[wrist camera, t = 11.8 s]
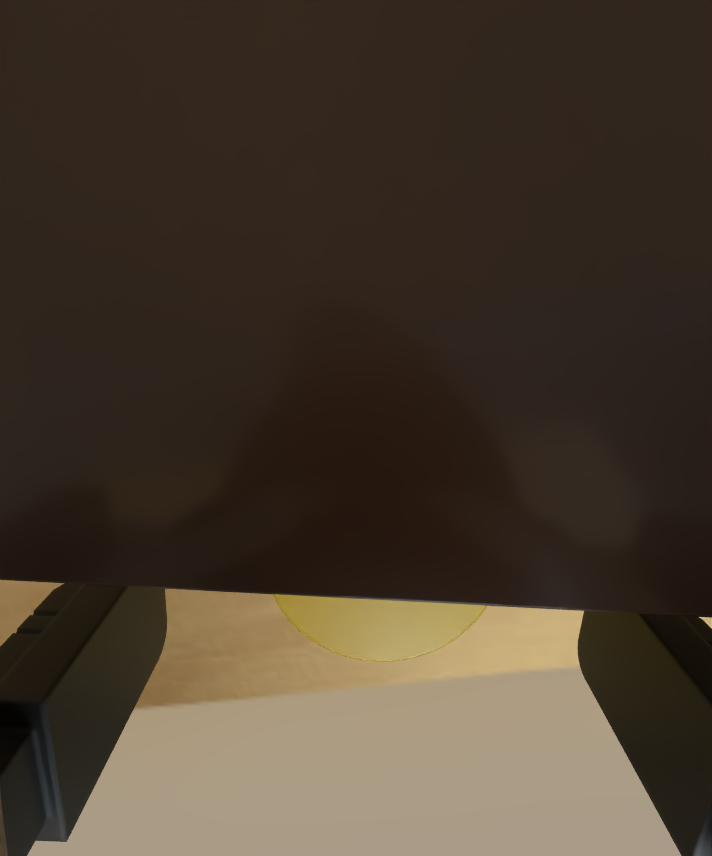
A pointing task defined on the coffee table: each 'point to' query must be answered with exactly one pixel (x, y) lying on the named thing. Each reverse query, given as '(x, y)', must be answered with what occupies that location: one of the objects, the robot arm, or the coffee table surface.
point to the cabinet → (359, 299)
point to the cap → (378, 625)
